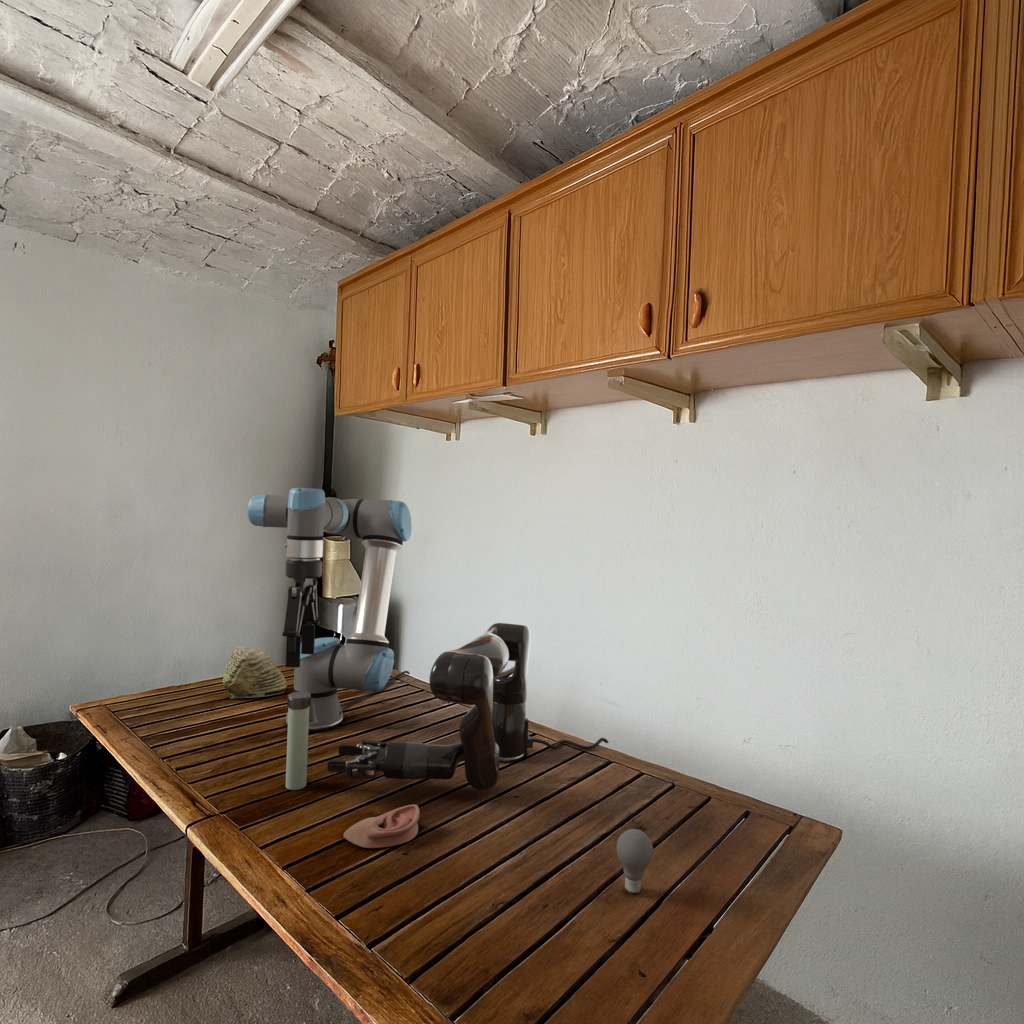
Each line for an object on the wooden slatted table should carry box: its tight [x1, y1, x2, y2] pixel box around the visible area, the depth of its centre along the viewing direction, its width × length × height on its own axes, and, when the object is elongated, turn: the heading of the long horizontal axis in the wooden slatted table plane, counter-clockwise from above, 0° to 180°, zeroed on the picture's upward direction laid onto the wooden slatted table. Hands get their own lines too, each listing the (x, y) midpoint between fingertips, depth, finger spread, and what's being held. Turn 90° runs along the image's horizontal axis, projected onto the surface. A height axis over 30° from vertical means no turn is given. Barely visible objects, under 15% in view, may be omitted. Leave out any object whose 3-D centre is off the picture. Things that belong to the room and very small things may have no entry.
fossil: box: [222, 646, 288, 699], centre depth 198 cm, size 9×18×15 cm, turn 132°
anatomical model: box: [342, 804, 421, 849], centre depth 120 cm, size 13×4×12 cm
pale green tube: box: [285, 706, 309, 791], centre depth 138 cm, size 4×4×20 cm
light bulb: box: [615, 828, 654, 894], centre depth 106 cm, size 6×6×10 cm
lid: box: [286, 691, 311, 709], centre depth 138 cm, size 5×5×2 cm
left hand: (300, 660), depth 138 cm, fingers open, 10 cm apart
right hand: (333, 757), depth 138 cm, fingers open, 8 cm apart
